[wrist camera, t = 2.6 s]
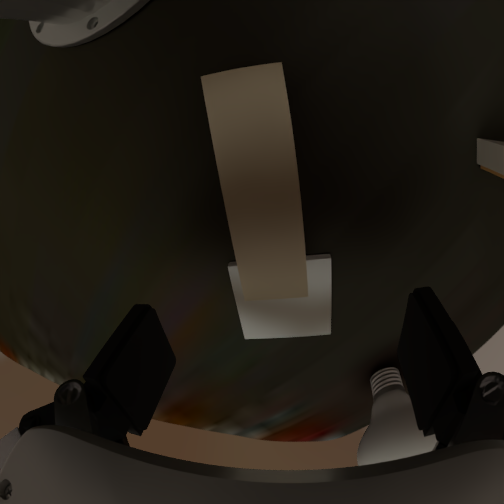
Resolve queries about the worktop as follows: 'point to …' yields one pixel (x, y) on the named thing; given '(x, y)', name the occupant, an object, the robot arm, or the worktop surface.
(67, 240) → the worktop surface
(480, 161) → the tile
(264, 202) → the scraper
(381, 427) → the lightbulb
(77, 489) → the robot arm
